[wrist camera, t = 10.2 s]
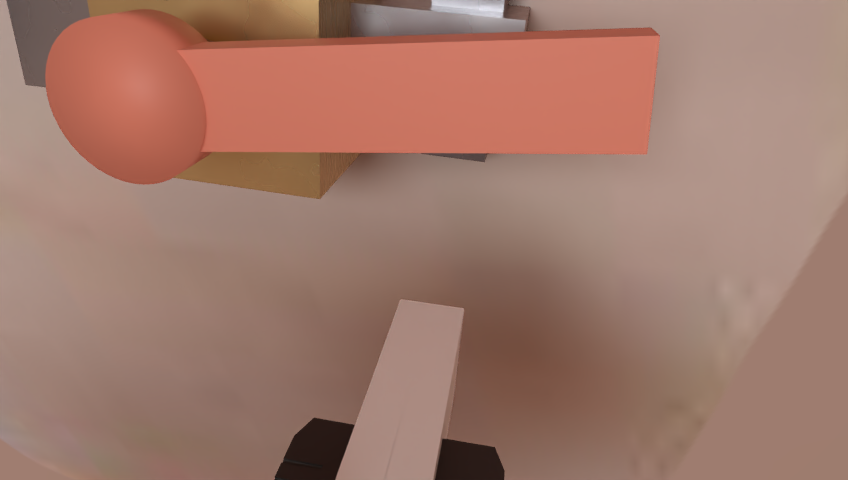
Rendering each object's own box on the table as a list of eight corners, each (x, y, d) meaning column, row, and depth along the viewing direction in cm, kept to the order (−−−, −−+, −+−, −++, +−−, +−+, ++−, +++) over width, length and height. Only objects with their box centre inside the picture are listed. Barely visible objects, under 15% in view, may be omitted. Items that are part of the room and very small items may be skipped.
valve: (102, 99, 27) (-87, 167, 19) (72, -80, 24) (-171, -88, 16) (509, 152, 24) (488, 255, 16) (536, -39, 21) (527, -25, 13)
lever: (114, 162, 17) (74, 183, 16) (70, 12, 15) (22, 19, 14) (635, 167, 14) (644, 193, 13) (653, -14, 13) (667, -8, 11)
